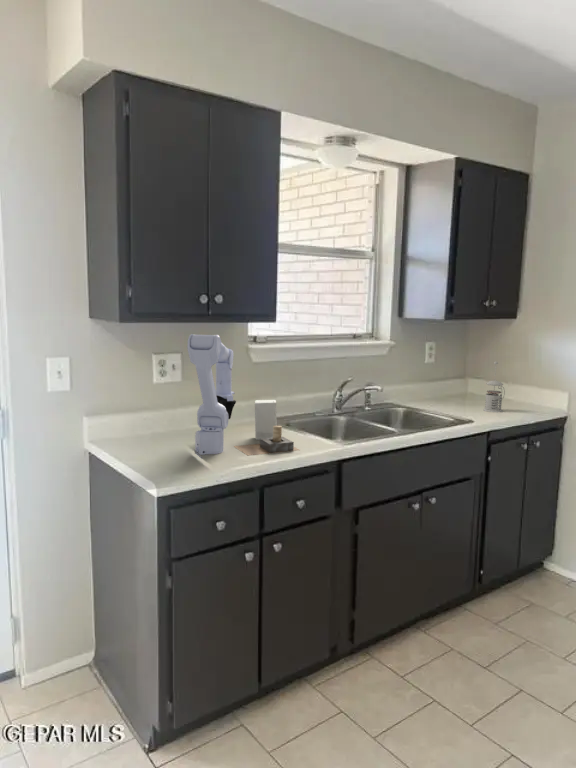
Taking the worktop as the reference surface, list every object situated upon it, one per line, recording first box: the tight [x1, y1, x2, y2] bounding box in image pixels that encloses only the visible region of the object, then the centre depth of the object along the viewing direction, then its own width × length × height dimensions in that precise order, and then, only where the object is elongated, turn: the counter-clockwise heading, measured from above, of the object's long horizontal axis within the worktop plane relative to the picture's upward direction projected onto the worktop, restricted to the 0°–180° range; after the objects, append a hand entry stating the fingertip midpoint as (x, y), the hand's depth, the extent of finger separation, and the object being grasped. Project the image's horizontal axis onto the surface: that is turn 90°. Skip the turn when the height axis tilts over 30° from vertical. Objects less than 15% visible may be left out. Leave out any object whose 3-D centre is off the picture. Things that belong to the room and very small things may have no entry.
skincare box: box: [254, 399, 278, 441], centre depth 226 cm, size 8×7×16 cm
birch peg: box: [273, 425, 283, 442], centre depth 210 cm, size 3×3×8 cm
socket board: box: [233, 436, 300, 456], centre depth 211 cm, size 20×14×4 cm
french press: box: [482, 361, 506, 413], centre depth 298 cm, size 10×12×25 cm
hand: (223, 417), depth 219 cm, fingers open, 7 cm apart
